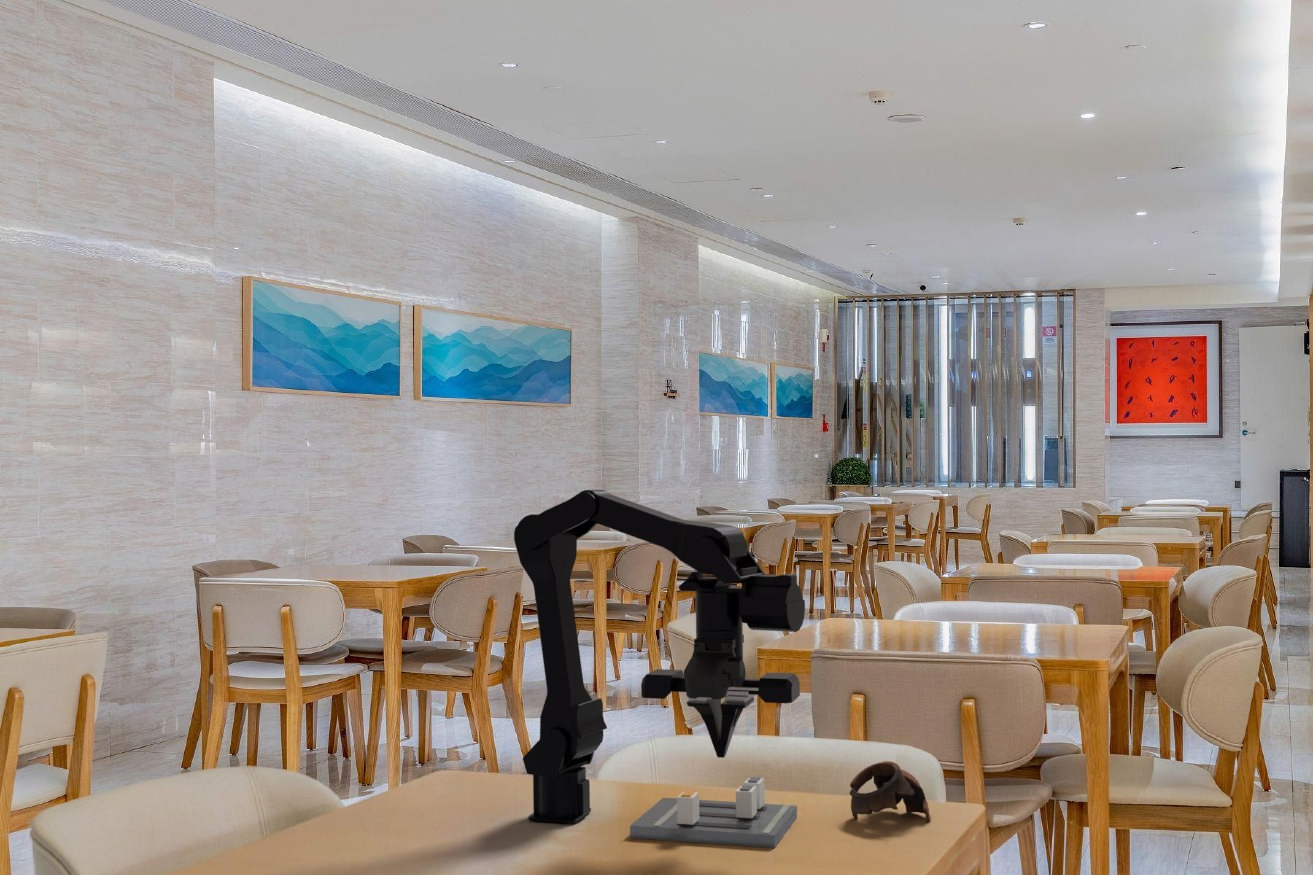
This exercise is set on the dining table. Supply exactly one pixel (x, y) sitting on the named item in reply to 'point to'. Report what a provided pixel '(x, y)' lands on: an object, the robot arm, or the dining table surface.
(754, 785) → the block
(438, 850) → the dining table surface
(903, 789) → the brown curved band frame
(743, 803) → the breaker
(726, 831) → the panel
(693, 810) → the block
